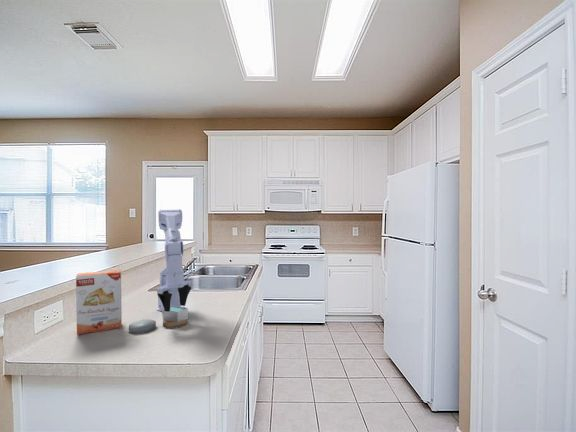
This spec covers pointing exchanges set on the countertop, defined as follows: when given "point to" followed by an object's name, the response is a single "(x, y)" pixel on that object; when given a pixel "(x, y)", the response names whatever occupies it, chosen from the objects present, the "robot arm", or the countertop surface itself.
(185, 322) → the walnut stand
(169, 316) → the white and teal box
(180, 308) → the cover plate
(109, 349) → the countertop surface
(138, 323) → the grey stand
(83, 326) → the cracker box
